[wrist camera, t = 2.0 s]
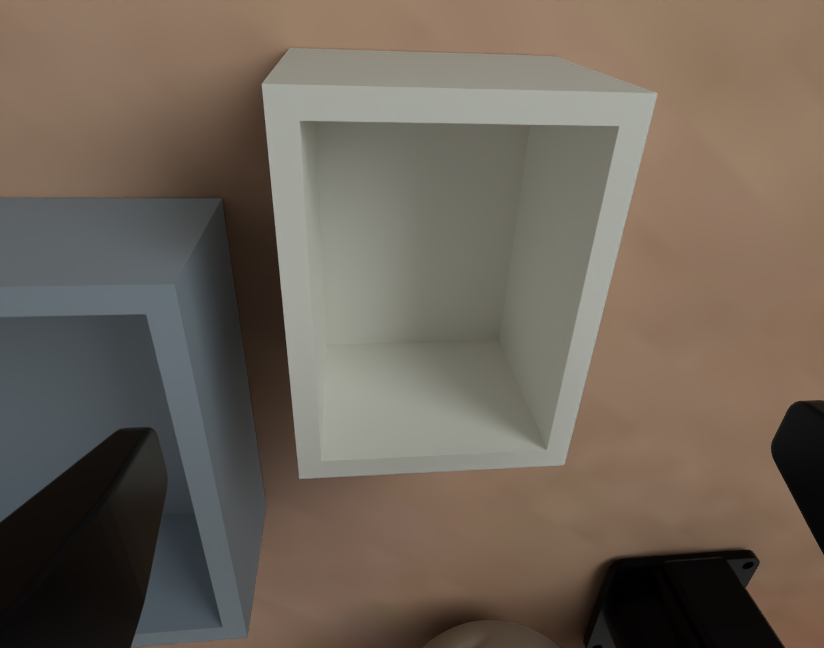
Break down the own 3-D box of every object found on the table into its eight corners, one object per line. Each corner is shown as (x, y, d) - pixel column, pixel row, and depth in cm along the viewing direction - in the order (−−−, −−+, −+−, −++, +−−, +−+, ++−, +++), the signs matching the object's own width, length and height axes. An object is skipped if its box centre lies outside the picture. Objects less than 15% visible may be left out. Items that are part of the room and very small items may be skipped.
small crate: (509, 344, 17) (564, 464, 13) (310, 350, 16) (299, 479, 12) (553, 56, 13) (657, 93, 9) (289, 48, 12) (261, 82, 8)
